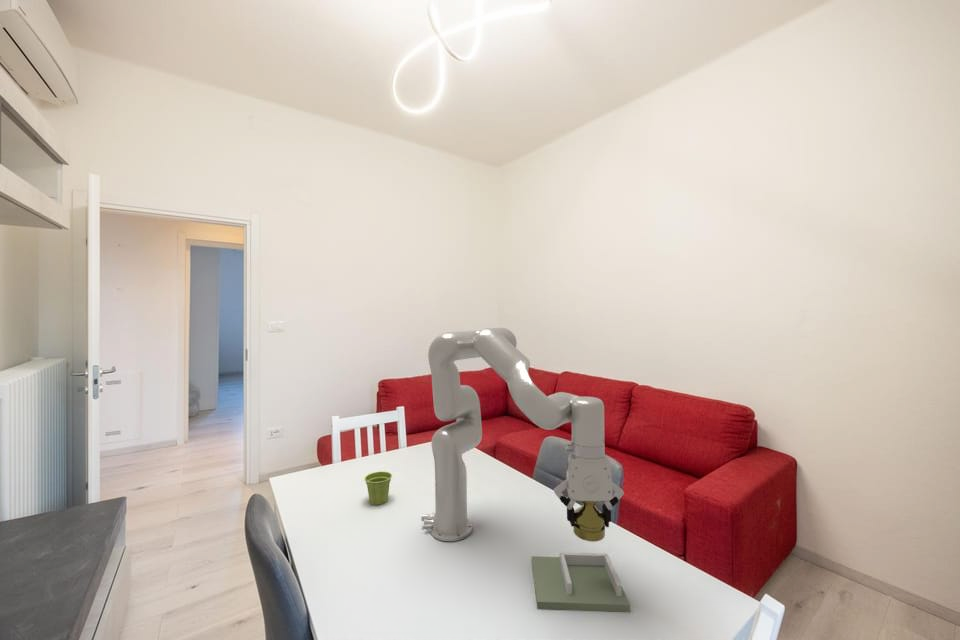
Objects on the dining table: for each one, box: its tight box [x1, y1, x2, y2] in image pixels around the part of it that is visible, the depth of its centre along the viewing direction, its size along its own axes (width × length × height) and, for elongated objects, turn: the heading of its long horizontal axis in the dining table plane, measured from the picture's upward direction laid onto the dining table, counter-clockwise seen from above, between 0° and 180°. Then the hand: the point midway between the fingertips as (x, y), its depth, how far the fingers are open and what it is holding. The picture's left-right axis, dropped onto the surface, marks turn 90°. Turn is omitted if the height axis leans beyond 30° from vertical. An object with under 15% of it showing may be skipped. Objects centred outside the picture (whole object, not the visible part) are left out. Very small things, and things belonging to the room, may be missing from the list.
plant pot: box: [364, 471, 393, 506], centre depth 134 cm, size 9×9×9 cm
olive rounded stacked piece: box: [572, 501, 606, 542], centre depth 91 cm, size 7×7×10 cm
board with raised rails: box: [531, 551, 631, 613], centre depth 91 cm, size 20×16×4 cm
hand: (588, 523), depth 91 cm, fingers closed on olive rounded stacked piece, 7 cm apart
